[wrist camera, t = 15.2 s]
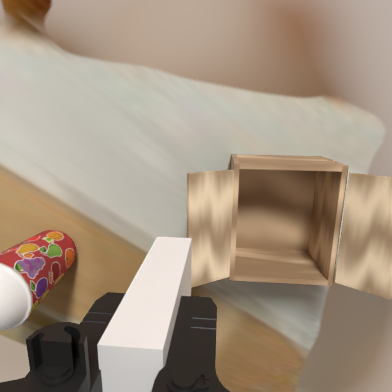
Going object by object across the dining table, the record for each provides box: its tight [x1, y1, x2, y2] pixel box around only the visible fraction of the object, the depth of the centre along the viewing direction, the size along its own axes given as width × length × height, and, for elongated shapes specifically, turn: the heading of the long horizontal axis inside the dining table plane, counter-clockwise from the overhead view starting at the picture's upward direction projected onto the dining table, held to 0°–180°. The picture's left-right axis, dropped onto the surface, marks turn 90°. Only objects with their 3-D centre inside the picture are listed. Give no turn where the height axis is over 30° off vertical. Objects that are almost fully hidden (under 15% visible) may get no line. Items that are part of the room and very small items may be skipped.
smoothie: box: [0, 230, 76, 331], centre depth 38 cm, size 8×8×20 cm
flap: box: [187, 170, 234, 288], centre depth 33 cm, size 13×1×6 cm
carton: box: [229, 155, 349, 286], centre depth 39 cm, size 14×12×9 cm
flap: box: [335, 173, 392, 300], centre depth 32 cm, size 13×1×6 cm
